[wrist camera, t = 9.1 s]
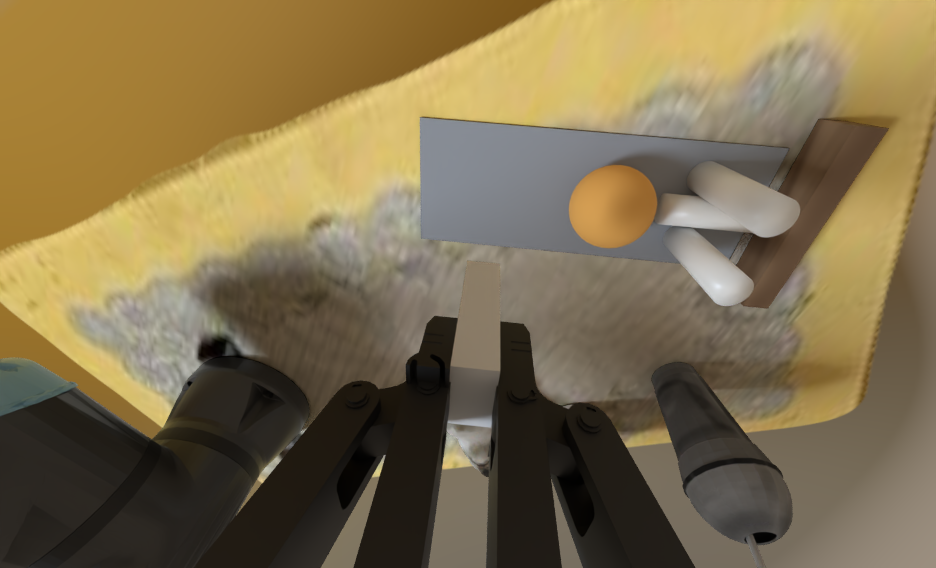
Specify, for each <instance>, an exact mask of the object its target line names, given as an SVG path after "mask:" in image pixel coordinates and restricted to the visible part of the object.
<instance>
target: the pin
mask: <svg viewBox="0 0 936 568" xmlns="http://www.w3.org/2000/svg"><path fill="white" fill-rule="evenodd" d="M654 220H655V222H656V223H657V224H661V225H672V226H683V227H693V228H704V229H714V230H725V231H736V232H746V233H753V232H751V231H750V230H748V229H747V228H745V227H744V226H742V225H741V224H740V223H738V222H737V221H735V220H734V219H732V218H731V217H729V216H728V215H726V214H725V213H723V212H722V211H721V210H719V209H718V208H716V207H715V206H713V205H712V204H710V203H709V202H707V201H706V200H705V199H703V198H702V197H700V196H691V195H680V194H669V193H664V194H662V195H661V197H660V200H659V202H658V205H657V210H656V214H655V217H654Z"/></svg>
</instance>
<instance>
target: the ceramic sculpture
mask: <svg viewBox="0 0 936 568" xmlns="http://www.w3.org/2000/svg"><path fill="white" fill-rule="evenodd" d="M491 430H492V425H491V428H489V427H480V426H471V425H461V424H452V423H447V431H448V433H449V434H451V435H452V436H455V437H457V438H458V442H459V443H460V445H461V447H462V450H463V452H464V453H465V455H466V456H467V457H468V459H469V460H470V462H471V464H472V465H473V467H475V468H476V469H477V470H479V471H480V472H481V473H482V474H483V475H484V476H486V477H489V457H488V451H489V445H490V439H491Z"/></svg>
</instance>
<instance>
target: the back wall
mask: <svg viewBox="0 0 936 568" xmlns="http://www.w3.org/2000/svg"><path fill="white" fill-rule="evenodd" d="M888 129H889V128H884V127H878V126H872V125H866V124H860V123H855V122H849V121H837V120H825V119H818V121H817V123H816V125H815V126H814V128H813V130H812V132H811V134H810V135H809V137H808V139H807V141H806V142H805V144H804V146H803V148H802V150H801V151H800V153H799V155H798V157H797V158H796V160H795V162H794V164H793V166H792V167H791V169H790V171H789V173H788V174H787V176H786V178H785V180H784V182H783V183H782V185H781V187H780V189H779V190H778V192H779V193H781V194H784V195H786V196H788V197H790V198H792V199H794V200H796V201H797V202H798V204H799V206H800V214H799V217H798V219H797V221H796V222H795V223H794V225H793V226H792V227H790V228H789V229H788V230H787V231H785V232H783V233H782V234H779V235H777V236H773V237H760V236H757V235H756V234H754V235H753V237H752V239H751V240H750V242H749V244H748V246H747V247H746V249H745V251H744V253H743V255H742V256H741V258H740V260H739V262H738V263H737V265H736V266H737V267H738V268H739V269H740V270H741V271H743V272H744V273H745V274H746V275H747V276H748V277H749V278H750V279H752V281H753V283H754V289H753V291H752V293H751V295H750V296H749V297H748V298H747V299H745V300H744V301H742V302H741V304H742V305H743V306H748V307H758V308H769V306H770V305H771V303H772V302H773V300H774V299H775V297H776V296H777V294H778V293H779V291H780V290H781V288H782V287H783V285H784V284H785V282H786V281H787V279H788V278H789V276H790V275H791V273H792V272H793V270H794V269H795V267H796V266H797V264H798V263H799V261H800V260H801V258H802V257H803V256H804V254H805V253H806V251H807V250H808V248H809V247H810V245H811V244H812V242H813V241H814V239H815V238H816V236H817V235H818V233H819V232H820V230H821V229H822V227H823V226H824V224H825V223H826V221H827V220H828V218H829V217H830V215H831V214H832V212H833V211H834V209H835V208H836V206H837V205H838V203H839V202H840V200H841V199H842V197H843V196H844V194H845V193H846V192H847V190H848V189H849V187H850V186H851V184H852V183H853V181H854V180H855V178H856V177H857V175H858V174H859V172H860V171H861V169H862V168H863V166H864V165H865V163H866V162H867V160H868V159H869V157H870V156H871V154H872V153H873V151H874V150H875V148H876V147H877V145H878V144H879V142H880V141H881V139H882V138H883V136H884V135H885V133H886V132H887V130H888Z"/></svg>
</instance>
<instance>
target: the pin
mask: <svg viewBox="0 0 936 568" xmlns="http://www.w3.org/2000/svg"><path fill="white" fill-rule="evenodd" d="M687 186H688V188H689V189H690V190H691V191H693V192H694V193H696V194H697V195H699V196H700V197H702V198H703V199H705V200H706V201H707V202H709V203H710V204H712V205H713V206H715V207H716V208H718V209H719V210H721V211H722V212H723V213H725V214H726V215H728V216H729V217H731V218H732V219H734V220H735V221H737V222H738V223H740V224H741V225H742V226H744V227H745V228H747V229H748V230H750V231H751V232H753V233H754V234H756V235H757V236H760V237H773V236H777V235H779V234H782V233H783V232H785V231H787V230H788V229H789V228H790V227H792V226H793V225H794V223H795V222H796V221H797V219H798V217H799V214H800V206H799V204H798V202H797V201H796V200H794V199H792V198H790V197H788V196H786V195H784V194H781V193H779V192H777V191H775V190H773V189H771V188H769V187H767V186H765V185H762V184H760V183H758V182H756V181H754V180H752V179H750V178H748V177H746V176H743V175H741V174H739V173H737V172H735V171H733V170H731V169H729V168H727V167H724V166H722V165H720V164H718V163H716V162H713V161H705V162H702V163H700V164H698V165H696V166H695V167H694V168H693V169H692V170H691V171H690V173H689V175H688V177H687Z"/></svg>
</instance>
